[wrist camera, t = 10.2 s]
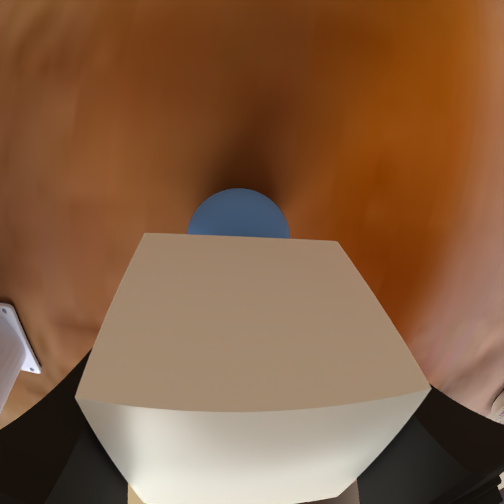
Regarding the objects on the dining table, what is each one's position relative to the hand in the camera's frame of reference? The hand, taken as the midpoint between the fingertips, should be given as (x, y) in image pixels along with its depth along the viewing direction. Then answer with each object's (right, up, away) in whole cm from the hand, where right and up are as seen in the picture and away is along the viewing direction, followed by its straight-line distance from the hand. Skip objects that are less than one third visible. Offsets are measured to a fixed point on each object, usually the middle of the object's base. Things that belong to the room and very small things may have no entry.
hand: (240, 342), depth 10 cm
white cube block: (0, +1, +2) cm, 2 cm away
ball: (0, +4, +5) cm, 6 cm away
